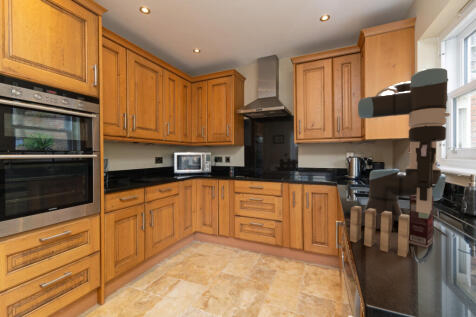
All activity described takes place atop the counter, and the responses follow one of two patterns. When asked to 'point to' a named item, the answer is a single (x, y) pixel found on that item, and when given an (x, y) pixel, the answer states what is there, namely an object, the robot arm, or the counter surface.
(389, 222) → the birch domino
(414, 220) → the supplement box
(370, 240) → the birch domino
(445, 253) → the counter surface
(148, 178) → the counter surface
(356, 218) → the birch domino
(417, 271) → the counter surface
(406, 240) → the birch domino
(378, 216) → the perforated stone tool
